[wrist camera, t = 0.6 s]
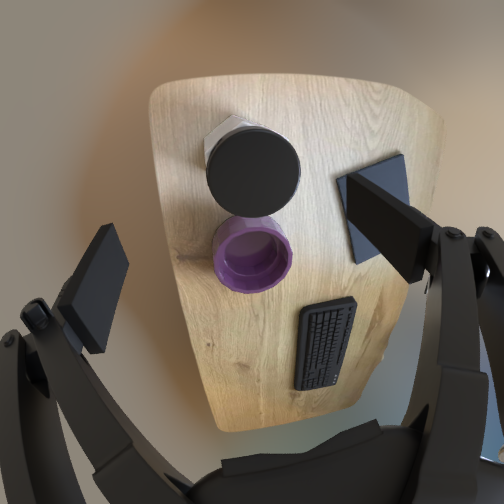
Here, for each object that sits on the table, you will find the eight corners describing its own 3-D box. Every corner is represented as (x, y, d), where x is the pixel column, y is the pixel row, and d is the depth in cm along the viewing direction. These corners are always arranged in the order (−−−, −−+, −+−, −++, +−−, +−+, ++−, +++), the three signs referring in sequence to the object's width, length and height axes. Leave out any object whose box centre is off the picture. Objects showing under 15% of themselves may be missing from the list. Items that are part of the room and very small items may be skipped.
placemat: (335, 178, 38) (337, 180, 37) (401, 153, 37) (403, 154, 36) (355, 263, 46) (356, 265, 46) (410, 236, 46) (411, 237, 45)
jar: (198, 121, 31) (196, 134, 21) (265, 109, 31) (296, 117, 21) (212, 188, 36) (218, 231, 26) (274, 176, 36) (305, 213, 26)
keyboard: (299, 307, 49) (302, 314, 48) (354, 295, 50) (358, 302, 49) (293, 389, 65) (295, 395, 64) (333, 379, 66) (336, 385, 65)
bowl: (199, 229, 38) (199, 248, 34) (268, 198, 38) (277, 213, 33) (229, 282, 44) (233, 303, 40) (291, 256, 43) (301, 275, 39)
